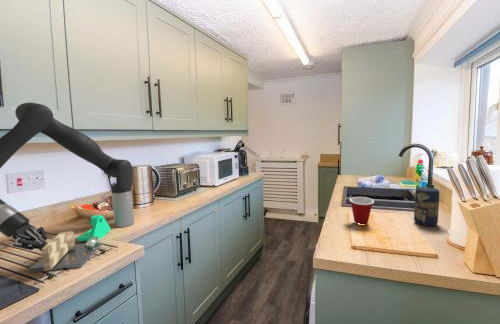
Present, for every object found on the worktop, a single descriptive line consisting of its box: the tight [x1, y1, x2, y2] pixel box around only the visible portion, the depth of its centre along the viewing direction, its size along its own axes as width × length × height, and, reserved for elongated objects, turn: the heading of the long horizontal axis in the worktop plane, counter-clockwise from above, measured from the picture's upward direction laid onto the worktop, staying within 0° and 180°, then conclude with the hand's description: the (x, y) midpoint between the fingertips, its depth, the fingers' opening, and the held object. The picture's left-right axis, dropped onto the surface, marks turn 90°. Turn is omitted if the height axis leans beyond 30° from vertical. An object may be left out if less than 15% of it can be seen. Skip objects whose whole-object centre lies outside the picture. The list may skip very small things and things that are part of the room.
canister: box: [413, 186, 440, 227], centre depth 125 cm, size 10×10×18 cm
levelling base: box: [28, 236, 102, 273], centre depth 100 cm, size 18×16×4 cm
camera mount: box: [76, 214, 111, 242], centre depth 119 cm, size 12×8×10 cm, turn 175°
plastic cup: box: [349, 196, 375, 225], centre depth 128 cm, size 11×11×12 cm
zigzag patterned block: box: [41, 231, 76, 272], centre depth 96 cm, size 20×5×8 cm, turn 15°
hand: (50, 252), depth 93 cm, fingers closed
